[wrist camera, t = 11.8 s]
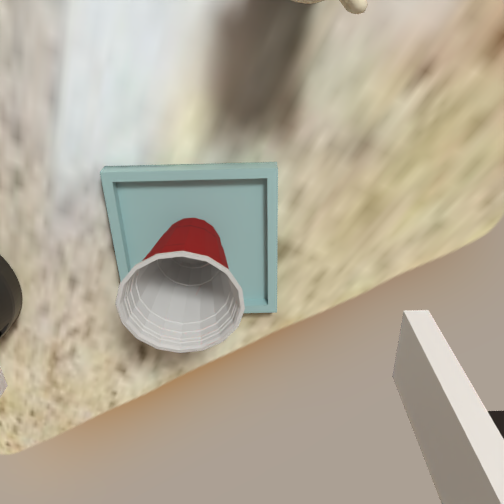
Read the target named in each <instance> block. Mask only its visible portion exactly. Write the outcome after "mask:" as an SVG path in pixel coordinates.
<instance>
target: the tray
mask: <svg viewBox="0 0 504 504" xmlns="http://www.w3.org/2000/svg"><path fill="white" fill-rule="evenodd" d="M100 175H101V181H102V186H103V191H104V197H105V202H106V207H107V212H108V218H109V223H110V228H111V234H112V239H113V244H114V249H115V255H116V260H117V265H118V271H119V276H120V281H121V282H122V280H123V279H124V278H125V277H126V275H127V274H128V273H129V272H130V270H131V269H132V268H133V267H134V266H135V265H136V264H138V263H139V262H141V261H142V260H143V259H144V258H145V257H146V256H147V254H148V253H149V252H150V251H151V249H152V248H153V247H154V245H155V244H156V243H157V242H158V240H159V239H160V238H161V237H162V235H163V234H164V233H165V232H166V231H167V230H168V229H169V228H170V226H171V225H172V224H174V223H176V222H178V221H180V220H181V219H183V218H198V219H202V220H205V221H206V222H208V223H209V224H210V225H212V226H213V227H214V229H215V230H216V232H217V233H218V235H219V237H220V240H221V245H222V247H223V249H224V253H225V256H226V260H227V264H228V268H229V270H230V272H231V273H232V275H233V276H234V278H235V279H236V281H237V282H238V284H239V285H240V286H241V288H242V291H243V298H244V306H245V310H244V313H272V312H277V212H278V167H277V162H261V163H220V164H180V165H139V166H105V167H104V168H103V169H102V170H101V172H100Z"/></svg>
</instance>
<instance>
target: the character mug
mask: <svg viewBox="0 0 504 504" xmlns="http://www.w3.org/2000/svg"><path fill="white" fill-rule="evenodd" d="M292 1H294V2H299V3H304V4H313V3H318V2H321V1H324V0H292ZM340 2H341V3H342V5H343V6H344V7H345V9H346V10H347V11H349V12H351V13H353V14H360V13H363V12H365V10H366V8H367V5H368V4H367V0H340Z"/></svg>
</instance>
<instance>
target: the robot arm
mask: <svg viewBox="0 0 504 504" xmlns="http://www.w3.org/2000/svg"><path fill="white" fill-rule="evenodd" d="M21 305H22V293H21V288H20V285H19V282H18V279H17V277H16V275H15V273H14V272H13V270H12V269H11V267H10V266H9V264H8V263H7V262H6V261H5V260H4V259H3V257H2V256H1V255H0V338H1V337H2V336H3V335H5V333H6V332H7V331H8V330H9V328H10V327H11V326H12V324H13V323H14V321H15V320H16V319H17V317H18V315H19V313H20V309H21ZM393 379H394V382H395V384H396V387H397V389H398V392H399V395H400V397H401V400H402V402H403V405H404V408H405V410H406V412H407V415H408V418H409V420H410V423H411V425H412V428H413V431H414V433H415V436H416V438H417V441H418V443H419V446H420V449H421V451H422V454H423V457H424V459H425V461H426V464H427V467H428V469H429V472H430V475H431V477H432V480H433V482H434V485H435V488H436V490H437V493H438V495H439V498H440V500H441V503H442V504H504V411H487V410H486V408H485V406H484V405H483V403H482V401H481V400H480V398H479V396H478V394H477V393H476V391H475V389H474V388H473V386H472V384H471V382H470V381H469V379H468V377H467V376H466V374H465V372H464V370H463V369H462V367H461V365H460V364H459V362H458V361H457V359H456V357H455V355H454V353H453V352H452V350H451V348H450V346H449V345H448V343H447V341H446V340H445V338H444V336H443V335H442V333H441V331H440V330H439V328H438V326H437V324H436V323H435V321H434V319H433V317H432V316H431V314H430V312H429V311H428V310H413V311H412V310H410V311H404V312H403V318H402V323H401V329H400V335H399V341H398V347H397V353H396V359H395V365H394V371H393ZM6 387H7V383H6V381H5V378H4V375H3V373H2V370H1V367H0V397H1V395H2V394H3V392H4V391H5V389H6Z"/></svg>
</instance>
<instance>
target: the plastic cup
mask: <svg viewBox="0 0 504 504" xmlns="http://www.w3.org/2000/svg"><path fill="white" fill-rule="evenodd" d="M116 307H117V310H118V313H119V316H120V319H121V322H122V324H123V325H124V326H125V327H126V328H127V329H128V330H129V331H130V332H131V333H132V334H133V335H134V336H135V338H136V339H138V340H140V341H142V342H144V343H146V344H148V345H150V346H152V347H154V348H156V349H160V350H166V351H171V352H177V353H184V352H193V351H202V350H205V349H207V348H210V347H212V346H214V345H216V344H219V343H221V342H223V341H224V340H225V339H226V338H227V337H228V336H229V335H230V334H231V333H233V332H234V331H235V330H236V329H237V328H238V326H239V323H240V321H241V318H242V315H243V313H244V310H245V306H244V298H243V291H242V288H241V286H240V285H239V284H238V282H237V281H236V279H235V278H234V276H233V275H232V273H231V272H230V270H229V268H228V264H227V260H226V256H225V253H224V249H223V247H222V245H221V240H220V237H219V235H218V233H217V232H216V230H215V229H214V227H213V226H212V225H210V224H209V223H208V222H206V221H205V220H202V219H198V218H183V219H181V220H180V221H178V222H176V223H174V224H172V225H171V226H170V228H169V229H168V230H167V231H166V232H165V233H164V234H163V235H162V237H161V238H160V239H159V240H158V242H157V243H156V244H155V245H154V247H153V248H152V249H151V251H150V252H149V253H148V254H147V256H146V257H145V258H144V259H143V260H142V261H141V262H139V263H138V264H136V265H135V266H134V267H133V268H132V269H131V270H130V272H129V273H128V274H127V275H126V277H125V278H124V279H123V280H122V282H121V283H120V284H119V289H118V294H117V299H116Z"/></svg>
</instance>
